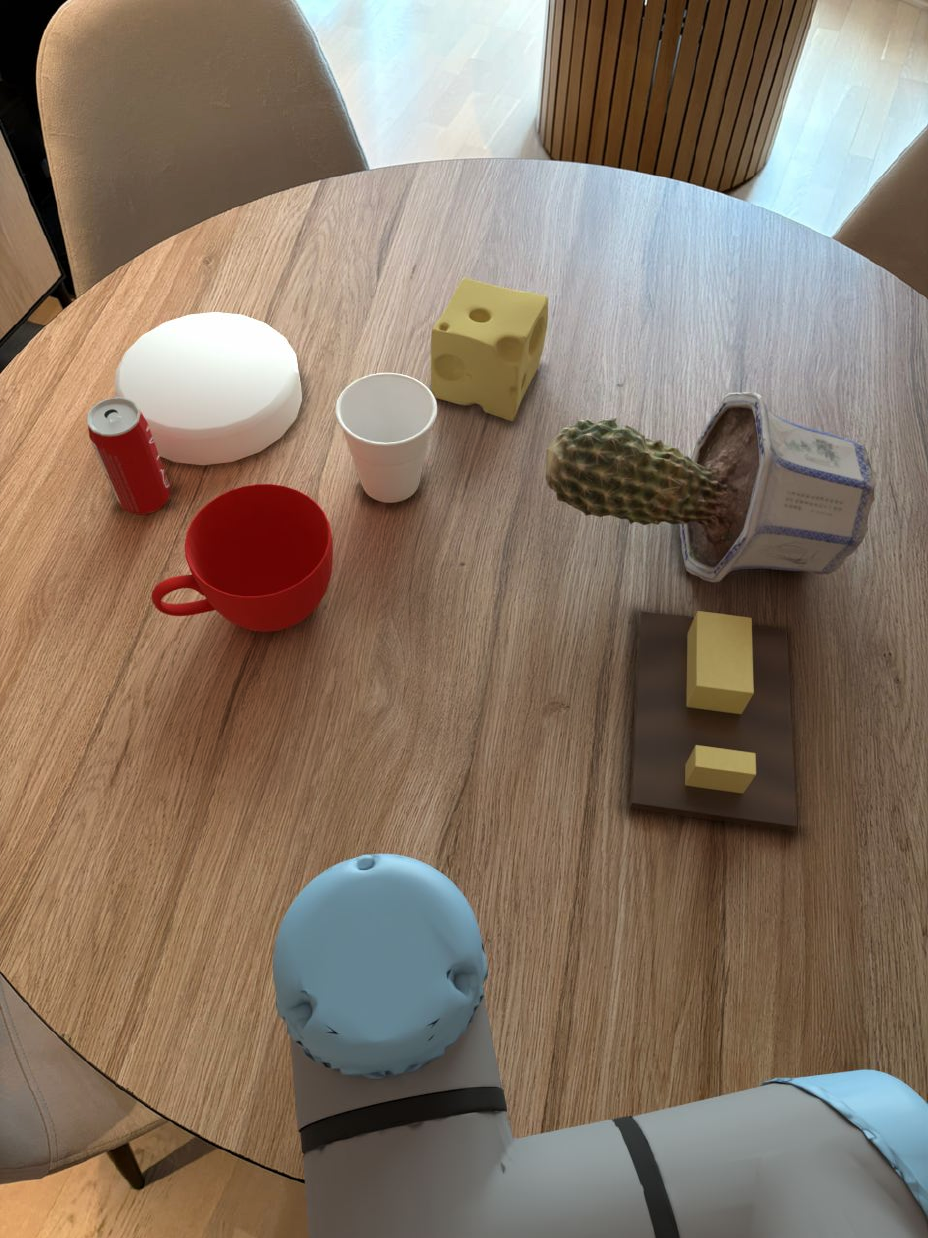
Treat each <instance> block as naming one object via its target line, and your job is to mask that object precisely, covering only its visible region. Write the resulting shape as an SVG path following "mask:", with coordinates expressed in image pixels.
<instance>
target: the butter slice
mask: <svg viewBox="0 0 928 1238" xmlns="http://www.w3.org/2000/svg"><path fill="white" fill-rule="evenodd" d="M755 776H756V754H755V753H750V752H743V751H736V750H728V749H721V748H714V747H707V746H700V745H696V746H695V748H694V750H693V751H692V753H691V755H690V757H689V759H688V761H687V763H686V765H685V785H686V786H693V787H700V788H707V789H714V790H721V791H728V792H735V793H742V794H743V793H744V792H745V790H746V789H747V787H748V786H749V784H750V783H751V781H752V780H753V778H754V777H755Z"/></svg>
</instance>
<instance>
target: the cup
mask: <svg viewBox="0 0 928 1238" xmlns="http://www.w3.org/2000/svg"><path fill="white" fill-rule="evenodd" d="M334 412H335V418H336V421H337V424H338V425H339V427H340V429H341V430H342V432H343V434H344V435H343V436H344V438H345V440H346V441H345V442H346V443H347V446H348V449H349V452H350V455H351V457H352V460H353V463H354V466H355V469H356V472H357V476H358V478H359V480H360V483H361V486H362V489H363V490H364V493H366V495H368V496H369V497H370V498H372V499H373V500H375V501H378V502H382V503H387V504H390V503H399V502H403V501H405V500H407V499H408V498H411V497H412V496H413V495H414V494H415V493H416V492H417V490H418V488H419V486H420V482H421V479H422V474H423V468H424V464H425V459H426V455H427V451H428V445H429V441H430V438H431V433H432V428H433V425H434V423H435V421H436V418H437V415H438V404H437V400H436V398H435V397H434V395H433V394H432V390H430V388H429V387H428V386H427V385H425V384H424V383H423V382H421V381H419V380H418V379H416V378H414V377H411V376H409V375H405V374H401V373H396V372H380V373H379V372H378V373H373V374H368V375H366V376H365V375H364V376H363V377H360V378H358V379H356V380H354V381H353V382H351V383H350V384H348V385H347V386H346V387H345V388H344V389H343V390H342V391H341V392H340V394H339V395H338V398H337V400H336V402H335V408H334Z"/></svg>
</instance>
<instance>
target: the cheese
mask: <svg viewBox="0 0 928 1238" xmlns="http://www.w3.org/2000/svg"><path fill="white" fill-rule="evenodd" d="M548 321H549V296H547V295H545V294H541V293H534V292H528V291H521V290H516V289H511V288H507V287H503V286H499V285H494V284H491V283H487V282H483V281H479V280H476V279H472V278H469V277H466V276H465V277H462V279H461V280H460V282H459V283H458V284H457V287H456V289H455V291H454V293H453V295H452V297H451V298H450V301H449V303H448V304H447V306H446V308H445V309H444V311H443V313H442V314H441V316H440V317H439V319H438V320H437V322H436V323H435V324H434V325H433V328H432V329H431V338H430V384H431V392H432V394H433V395H434V398H435V399H438V400H442V401H445V402H447V403H448V402H449V403H453V404H457V405H460V406H471V405H473V404H478V405H480V406H481V408H482V410H483V412H484V413H486V414H489V415H492V416H494V417H498V418H500V419H503V420H506V421H509V422H513V421H514V420H515V419H516V417H517V414H518V411H519V408H520V405H521V402H522V401H523V399H524V397H525V396H526V395H525V394H526V393H527V390H528V389H529V387H530V384H531V382H532V380H533V379H534V377H535V374H536V373H537V371H538V368H539V366H540V362H541V358H542V355H543V352H544V347H545V341H546V337H547V329H548Z"/></svg>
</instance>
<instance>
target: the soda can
mask: <svg viewBox="0 0 928 1238" xmlns="http://www.w3.org/2000/svg"><path fill="white" fill-rule="evenodd" d="M86 418H87V420H86V421H87V422H86V423H87V427H88V437H89V440H90V442H91V445H92V447H93V450H94V451H95V453H96V456H97V459H98V460H99V464H100V465H101V468H102V470H103V472H104V475H105V476H106V479H107V481H108V483H109V486H110V488H111V490H112V493H113V495H114V497H115V500H116V502H117V504H118V505H119V506H120V507H121V508H122V510H124V511H125V512H129V513H131V514H135V515H147V514H150V513H154V512H156V511H158V510H160V509H161V508H162V507H164V506H165V505H166V504H167V502H168V501H169V499H170V495H171V491H172V487H171V484H170V482H169V479H168V477H167V473H166V470H165V468H164V464H163V462H162V459H161V456H159V453H158V451H157V448H156V445H155V442H154V439H153V437H152V434H151V431H150V428H149V425H148V422H147V421H146V419H145V417H144V415H143V414H142V412H141V411H140V409H139V408H138V407H137V405H136V404H135V402H133V401H132V400H130V399H127V398H121V397H116V396H115V397H109V398H105V399H103V400H101V401H98V402H97V403H96V404H94V405H93V406H92V407H91V408H90V410H88V413H87V415H86Z"/></svg>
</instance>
